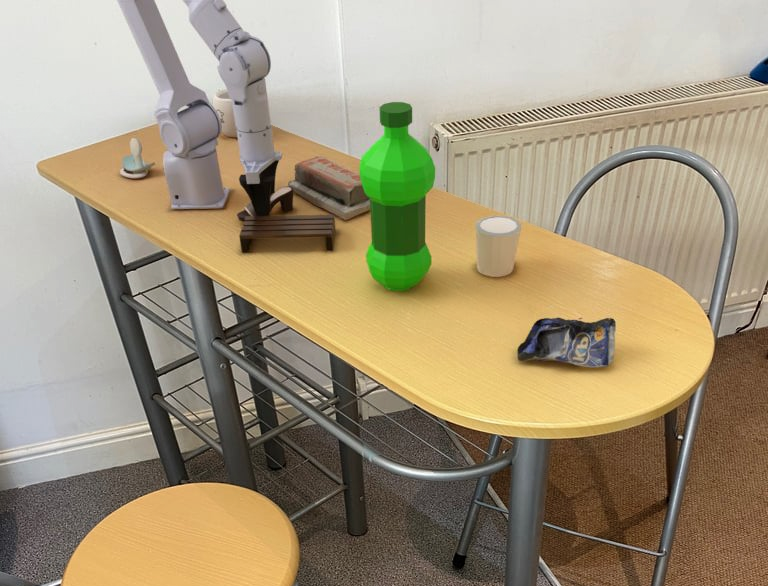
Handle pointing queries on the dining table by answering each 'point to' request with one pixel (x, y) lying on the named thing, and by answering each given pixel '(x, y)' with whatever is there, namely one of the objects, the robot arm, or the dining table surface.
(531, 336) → the snack package
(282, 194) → the heeled mule
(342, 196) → the packaged product
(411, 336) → the dining table surface
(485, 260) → the shot glass
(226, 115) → the mug
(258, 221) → the slatted bench
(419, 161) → the plastic bottle
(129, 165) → the pacifier
